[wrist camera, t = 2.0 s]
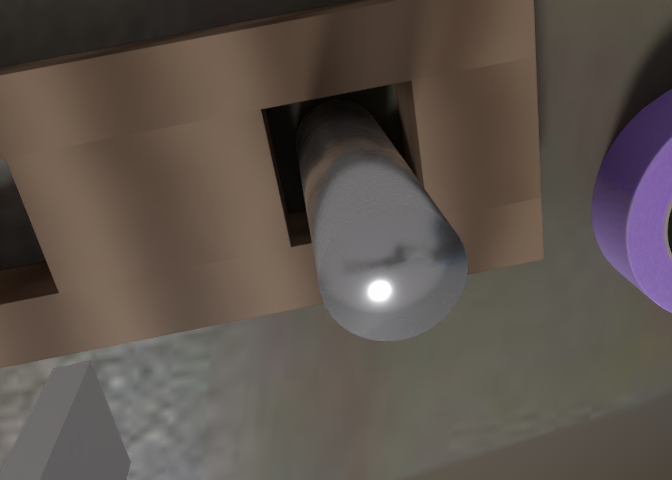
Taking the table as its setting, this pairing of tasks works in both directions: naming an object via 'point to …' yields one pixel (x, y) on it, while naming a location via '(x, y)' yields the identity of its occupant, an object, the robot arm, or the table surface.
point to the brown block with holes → (249, 162)
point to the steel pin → (374, 228)
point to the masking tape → (639, 201)
